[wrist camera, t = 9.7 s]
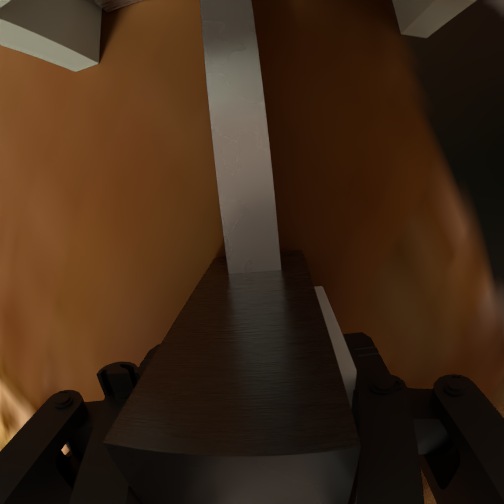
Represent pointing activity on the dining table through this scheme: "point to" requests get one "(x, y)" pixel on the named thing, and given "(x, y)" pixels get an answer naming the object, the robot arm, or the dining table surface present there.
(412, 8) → the cabinet
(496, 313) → the dining table surface
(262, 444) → the scraper
